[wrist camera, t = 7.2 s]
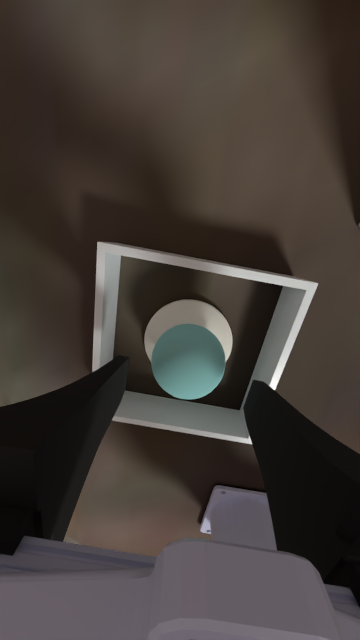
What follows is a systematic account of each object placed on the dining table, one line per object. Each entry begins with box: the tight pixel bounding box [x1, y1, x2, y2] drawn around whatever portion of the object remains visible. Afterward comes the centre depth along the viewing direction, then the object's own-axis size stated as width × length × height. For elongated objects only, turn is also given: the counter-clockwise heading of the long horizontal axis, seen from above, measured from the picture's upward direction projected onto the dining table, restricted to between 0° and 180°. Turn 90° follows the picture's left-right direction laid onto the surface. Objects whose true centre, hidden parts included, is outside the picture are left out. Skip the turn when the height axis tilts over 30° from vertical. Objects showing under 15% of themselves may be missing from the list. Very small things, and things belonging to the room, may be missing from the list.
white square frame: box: [92, 242, 318, 444], centre depth 16 cm, size 13×13×3 cm
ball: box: [151, 324, 226, 399], centre depth 14 cm, size 5×5×5 cm
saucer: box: [144, 299, 233, 362], centre depth 17 cm, size 7×7×1 cm
